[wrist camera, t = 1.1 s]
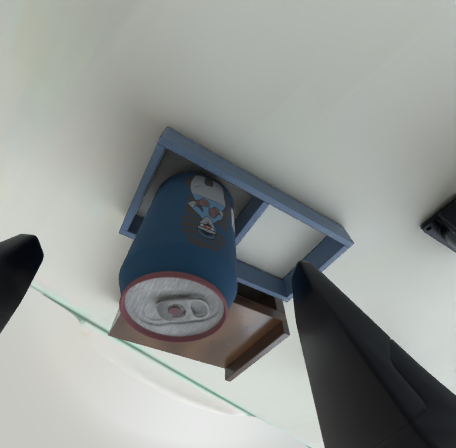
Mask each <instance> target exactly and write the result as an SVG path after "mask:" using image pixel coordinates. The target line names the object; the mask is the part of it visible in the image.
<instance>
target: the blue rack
mask: <svg viewBox="0 0 456 448" xmlns="http://www.w3.org/2000/svg"><path fill="white" fill-rule="evenodd" d="M166 149H169V150H171V151H173V152H174V153H176V154H178V155H180V156H182V157H184V158H186V159H187V160H189V161H191V162H193V163H195V164H197V165H198V166H200V167H202V168H204V169H206V170H208V171H209V172H211V173H213V174H215V175H217V176H219V177H220V178H222V179H224V180H226V181H228V182H230V183H232V184H233V185H235V186H237V187H239V188H241V189H243V190H244V191H246V192H248V193H250V194H252V195H254V196H253V197H252V199H251V200H250V201H249V203H248V204H247V206H246V207H245V208H244V210H243V211H242V212H241V214H240V215H239V216H238V218H237V219H236V220H235V222H234V223H235V244H236V246H237V244H238V243H239V242H240V241H241V239H242V238H243V237H244V236H245V234H246V233H247V232H248V231H249V229H250V228H251V227H252V226H253V224H254V223H255V222H256V221H257V219H258V218H259V217H260V216H261V214H262V213H263V212H264V210H265V209H266V208H267V207H268V205H269V204H270V205H272V206H274V207H276V208H278V209H279V210H281V211H283V212H285V213H287V214H289V215H290V216H292V217H294V218H296V219H298V220H300V221H302V222H303V223H305V224H307V225H309V226H311V227H313V228H314V229H316V230H318V231H320V232H322V233H324V234H325V235H327V237H326V238H325V239H324V240H323V241H322V242H321V243H320V244H319V245H318V246H317V247H316V248H315V249H314V250H313V251H312V252H311V253H310V254H308V255H307V256H306V257H305V258H304V259H303V260H302V261H309V262H311V263H312V264H313V265H314V266H315V267H316V268H317V269H319V270H320V271H321V272H322V271H323V270H325V269H326V268H327V267H328V266H329V265H330V264H331V263H332V262H334V261H335V260H336V259H337V258H338V257H339V256H340V255H341V254H343V253H344V252H345V251H346V250H347V249H348V248H349V247H351V246H352V245H353V244H354V242H353V241H352V239H351V238H350V236H349V235H348V233H347V232H346V230H345V229H344V227H343V226H341V225H339V224H337V223H336V222H334V221H332V220H330V219H329V218H327V217H325V216H323V215H322V214H320V213H318V212H316V211H315V210H313V209H311V208H309V207H308V206H306V205H304V204H302V203H301V202H299V201H297V200H295V199H294V198H292V197H290V196H288V195H287V194H285V193H283V192H281V191H280V190H278V189H276V188H274V187H273V186H271V185H269V184H267V183H266V182H264V181H262V180H260V179H259V178H257V177H255V176H253V175H252V174H250V173H248V172H246V171H245V170H243V169H241V168H239V167H238V166H236V165H234V164H232V163H231V162H229V161H227V160H225V159H224V158H222V157H220V156H218V155H217V154H215V153H213V152H211V151H210V150H208V149H206V148H204V147H203V146H201V145H199V144H197V143H196V142H194V141H192V140H190V139H189V138H187V137H185V136H183V135H182V134H180V133H178V132H176V131H175V130H173V129H171V128H169V127H167V128H166V130H165V131H164V132H163V134H162V135H161V137H160V139H159V141H158V144H157V146H156V148H155V150H154V153H153V155H152V157H151V160H150V162H149V164H148V166H147V169H146V171H145V173H144V176H143V178H142V180H141V182H140V185H139V187H138V189H137V192H136V194H135V196H134V199H133V201H132V203H131V205H130V208H129V210H128V212H127V215H126V217H125V219H124V221H123V224H122V226H121V228H120V231H119V233H120V234H122V235H125V236H127V237H130V238H132V239H135V237H136V235H137V233H138V231H139V229H140V226H141V224H142V222H143V220H144V219H143V218H141V217H138V216H136V214H137V211H138V209H139V207H140V205H141V203H142V201H143V198H144V196H145V194H146V192H147V190H148V188H149V185H150V183H151V181H152V179H153V177H154V175H155V172H156V170H157V168H158V166H159V164H160V162H161V159H162V157H163V155H164V153H165V151H166ZM236 264H237V282H239V283H242V284H244V285H247V286H249V287H252V288H254V289H256V290H259V291H261V292H264V293H266V294H269V295H271V296H274V297H276V298H278V299H281V300H283V301H286V302H288V301H289V300H291V299H292V298H293V292H292V283H291V279H292V275H293V273H294V270H295V268H294V269H293V270H292V271H291V272H290V273H289V274H288V275H287V276H286V277H285V278H284V279H283V280H281V279H279V278H277V277H275V276H272V275H270V274H268V273H266V272H263V271H261V270H259V269H256V268H254V267H252V266H250V265H247V264H245V263H243V262H241V261H238V260H236Z"/></svg>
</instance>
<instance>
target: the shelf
mask: <svg viewBox="0 0 456 448" xmlns="http://www.w3.org/2000/svg"><path fill="white" fill-rule="evenodd" d="M108 335H109V336H112V337H115V338H119V339H123V340H126V341H130V342H133V343H137V344H140V345H144V346H147V347H151V348H154V349H158V350H161V351H165V352H168V353H172V354H176V355H179V356H183V357H186V358H190V359H193V360H197V361H200V362H204V363H207V364H211V365H214V366H218V367H221V368H225V380H226V381H232V380H233V379H234V378H235V377H237V376H238V375H239V374H241V373H242V372H243V371H244V370H246V369H247V368H248V367H250V366H251V365H252V364H253V363H255V362H256V361H257V360H259V359H260V358H261V357H262V356H264V355H265V354H266V353H268V352H269V351H270V350H271V349H273V348H274V347H275V346H277V345H278V344H279V343H280V342H282V341H283V340H284V339H286V338H287V337H288V336H289V335H290V333H289V328H288V324H287V319H286V315H285V310H284V306H283V301H282V300H281V299H278V298H276V297H274V296H271V295H269V294H267V295H266V296H265V297H264V298H263V299H262V300H261V301H260V302H259V303H256V302H254V301H251V300H249V299H246V298H244V297H241V296H239V295H236V297H235V299H234V301H233V303H232V305H231V306H230V308H229V310H228V315H227V319H226V322H225V323H224V325H223V326H222V328H221V329H220V330H219V331H217V332H216V333H215V334H213V335H211V336H209V337H207V338H205V339H202V340H198V341H193V342H186V343H169V342H163V341H159V340H155V339H152V338H150V337H147V336H145V335H143V334H141V333H139V332H137V331H136V330H134V329H133V328H132V327H130V326H129V325H128V324H127V323H126V321H125V320H124V319H123V317H122V315H121V312H120V308H119V310H118V312H117V315H116V317H115V319H114V322H113V324H112V327H111V329H110V332H109V334H108Z"/></svg>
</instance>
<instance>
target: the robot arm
mask: <svg viewBox="0 0 456 448" xmlns="http://www.w3.org/2000/svg"><path fill="white" fill-rule="evenodd" d="M421 229H422V230H423V231H424V232H425V233H427V234H428V235H430V236H431V237H433V238H434V239H436V240H438V241H439V242H441V243H442V244H444V245H445V246H447V247H448V248H450V249H451V250H453V251H454V252H456V198H455V199H454V200H453V201H452V202H450V203H449V204H448V205H447V206H445V207H444V208H443V209H441V210H440V211H439V212H438V213H436V214H435V215H434V216H433V217H431V218H430V219H429V220H428V221H426V222H425V223H424V224H423V225H422V226H421ZM43 257H44V254H43V251H42V248H41V245H40V243H39V240H38V238H37V237H36V236H35V235H29V234H20V235H17V236H15V237H12V238H10V239H7V240H5V241H2V242H0V333H1V332H2V330H3V329H4V327H5V325H6V324H7V322H8V321H9V319H10V318H11V316H12V315H13V313H14V312H15V310H16V309H17V307H18V306H19V304H20V303H21V301H22V299H23V297H24V296H25V294H26V292H27V290H28V288H29V286H30V284H31V282H32V280H33V278H34V276H35V274H36V273H37V271H38V269H39V267H40V265H41V263H42V261H43ZM291 283H292V292H293V301H294V310H295V318H296V324H297V329H298V333H299V337H300V342H301V346H302V351H303V355H304V359H305V364H306V368H307V372H308V377H309V381H310V385H311V390H312V394H313V398H314V403H315V407H316V411H317V416H318V420H319V424H320V429H321V433H322V437H323V442H324V446H325V448H456V395H454V394H453V393H452V392H451V391H450V390H448V389H447V388H446V387H445V386H444V385H442V384H441V383H440V382H439V381H438V380H437V379H435V378H434V377H433V376H432V375H431V374H430V373H429V372H427V371H426V370H425V369H424V368H423V367H422V366H420V365H419V364H418V363H417V362H416V361H415V360H414V359H413V358H412V357H411V356H410V355H408V354H407V353H406V352H405V351H404V350H403V349H402V348H401V347H400V346H399V345H398V344H397V343H396V342H395V341H394V340H392V339H390V337H389V336H388V335H387V334H386V333H385V332H384V331H383V330H382V329H381V328H380V327H379V326H378V325H377V324H375V323H374V322H373V321H372V320H371V319H370V318H369V317H368V316H367V315H366V314H365V313H364V312H363V311H362V310H361V309H360V308H359V307H358V306H356V305H355V304H354V303H353V302H352V301H351V300H350V299H349V298H348V297H347V296H346V295H345V294H344V293H343V292H342V291H341V290H340V289H339V288H338V287H336V286H335V285H334V284H333V283H332V282H331V281H330V280H329V279H328V278H327V277H326V276H325V275H324V274H323V273H322V272H321V271H320V270H319V269H317V268H316V267H315V266H314V265H313V264H312V263H311V262H309V261H299V262H298V263H297V265H296V267H295V270H294V273H293V275H292V279H291Z"/></svg>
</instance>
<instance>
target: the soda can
mask: <svg viewBox="0 0 456 448" xmlns="http://www.w3.org/2000/svg"><path fill="white" fill-rule="evenodd" d="M119 286H120V291H121V298H120V302H119V308H120V312H121V315H122V317H123V319H124V320H125V321H126V323H127V324H128V325H129V326H130V327H132V328H133V329H134V330H136V331H137V332H139V333H141V334H143V335H145V336H147V337H150V338H152V339H155V340H159V341H163V342H169V343H186V342H193V341H198V340H202V339H205V338H207V337H209V336H211V335H213V334H215V333H216V332H217V331H219V330H220V329H221V328H222V326H223V325H224V323H225V322H226V319H227V315H228V310H229V308H230V306H231V305H232V303H233V301H234V299H235V297H236V294H237V288H238V286H237V264H236V244H235V223H234V205H233V200H232V197H231V195H230V193H229V191H228V190H227V189H226V187H225V186H224V185H223V184H222V183H221V182H219V181H218V180H217V179H215V178H213V177H211V176H209V175H207V174H203V173H199V172H184V173H180V174H177V175H174V176H172V177H170V178H169V179H167V180H166V181H165V182H164V183H163V184H162V185H161V186H160V187H159V189H158V190H157V192H156V195H155V197H154V199H153V201H152V203H151V205H150V207H149V209H148V212H147V214H146V216H145V218H144V220H143V222H142V224H141V226H140V229H139V231H138V233H137V235H136V237H135V239H134V241H133V243H132V246H131V248H130V250H129V252H128V254H127V256H126V258H125V260H124V263H123V265H122V267H121V269H120V273H119Z"/></svg>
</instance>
